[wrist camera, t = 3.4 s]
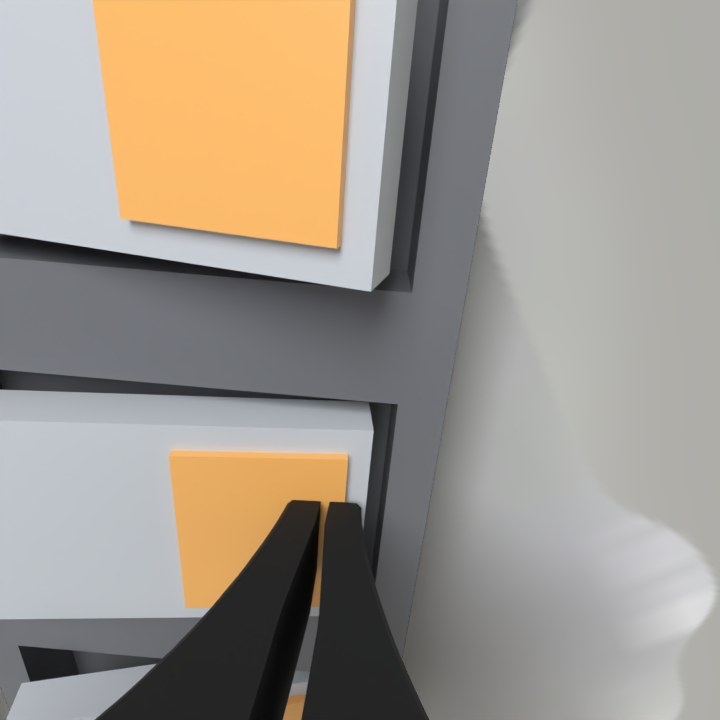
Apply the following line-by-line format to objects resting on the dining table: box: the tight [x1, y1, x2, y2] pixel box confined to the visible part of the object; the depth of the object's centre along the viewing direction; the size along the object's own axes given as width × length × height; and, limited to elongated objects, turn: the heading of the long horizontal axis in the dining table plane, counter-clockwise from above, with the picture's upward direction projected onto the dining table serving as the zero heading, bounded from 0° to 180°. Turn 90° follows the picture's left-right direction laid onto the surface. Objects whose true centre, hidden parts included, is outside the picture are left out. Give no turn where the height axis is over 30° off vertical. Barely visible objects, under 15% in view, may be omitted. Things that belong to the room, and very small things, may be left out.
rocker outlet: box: [0, 0, 418, 292], centre depth 7 cm, size 9×6×1 cm, turn 86°
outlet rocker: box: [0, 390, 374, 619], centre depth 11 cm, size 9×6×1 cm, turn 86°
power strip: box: [0, 0, 517, 710], centre depth 13 cm, size 12×28×4 cm, turn 176°
